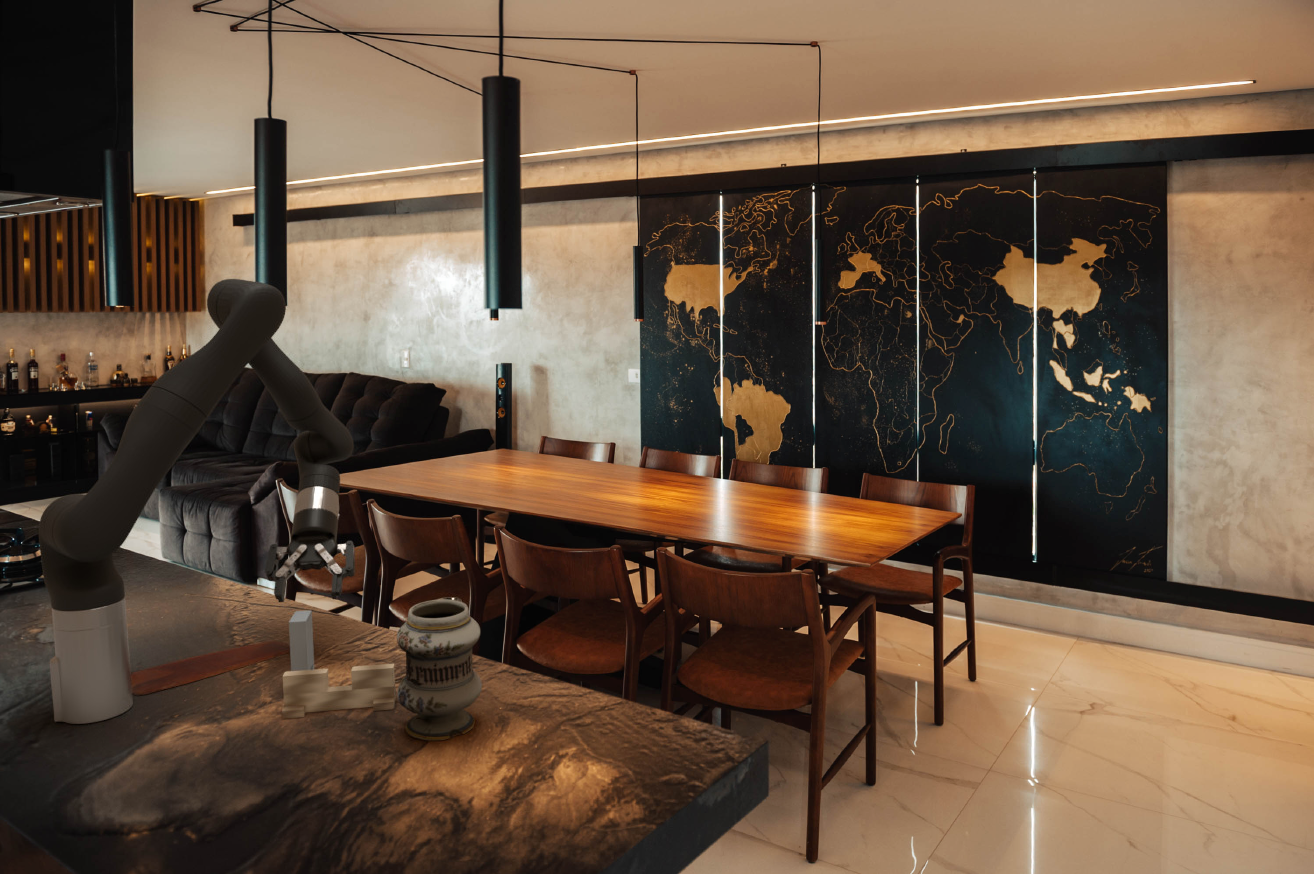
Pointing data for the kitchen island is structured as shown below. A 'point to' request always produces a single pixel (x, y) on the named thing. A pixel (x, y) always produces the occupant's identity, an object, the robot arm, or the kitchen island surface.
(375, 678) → the birch slotted board
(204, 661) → the wooden tablet
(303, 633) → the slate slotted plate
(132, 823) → the kitchen island surface
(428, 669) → the apothecary jar
